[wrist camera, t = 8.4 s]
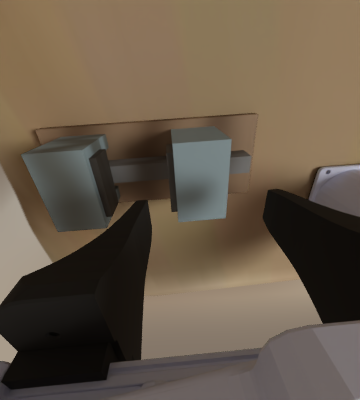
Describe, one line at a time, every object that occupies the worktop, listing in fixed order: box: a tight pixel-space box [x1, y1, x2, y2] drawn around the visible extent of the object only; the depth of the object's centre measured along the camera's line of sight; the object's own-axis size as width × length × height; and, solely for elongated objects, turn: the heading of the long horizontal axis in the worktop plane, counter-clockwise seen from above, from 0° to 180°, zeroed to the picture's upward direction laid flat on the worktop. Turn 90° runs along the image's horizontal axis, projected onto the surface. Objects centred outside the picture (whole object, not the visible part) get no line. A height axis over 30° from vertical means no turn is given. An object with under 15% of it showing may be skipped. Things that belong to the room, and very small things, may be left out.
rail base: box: [21, 113, 258, 232], centre depth 17 cm, size 20×8×6 cm, turn 93°
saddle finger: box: [166, 126, 232, 222], centre depth 17 cm, size 4×6×6 cm
